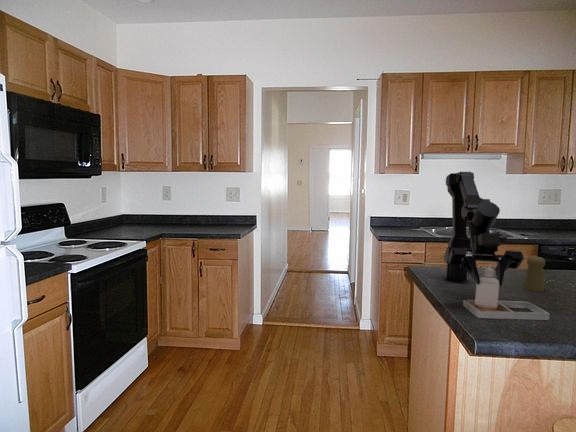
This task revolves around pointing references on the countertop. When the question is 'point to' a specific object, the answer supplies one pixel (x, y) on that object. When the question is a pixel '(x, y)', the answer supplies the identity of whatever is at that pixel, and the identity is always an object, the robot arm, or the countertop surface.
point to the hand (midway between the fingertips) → (489, 284)
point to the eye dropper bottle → (487, 290)
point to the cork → (534, 274)
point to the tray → (507, 310)
